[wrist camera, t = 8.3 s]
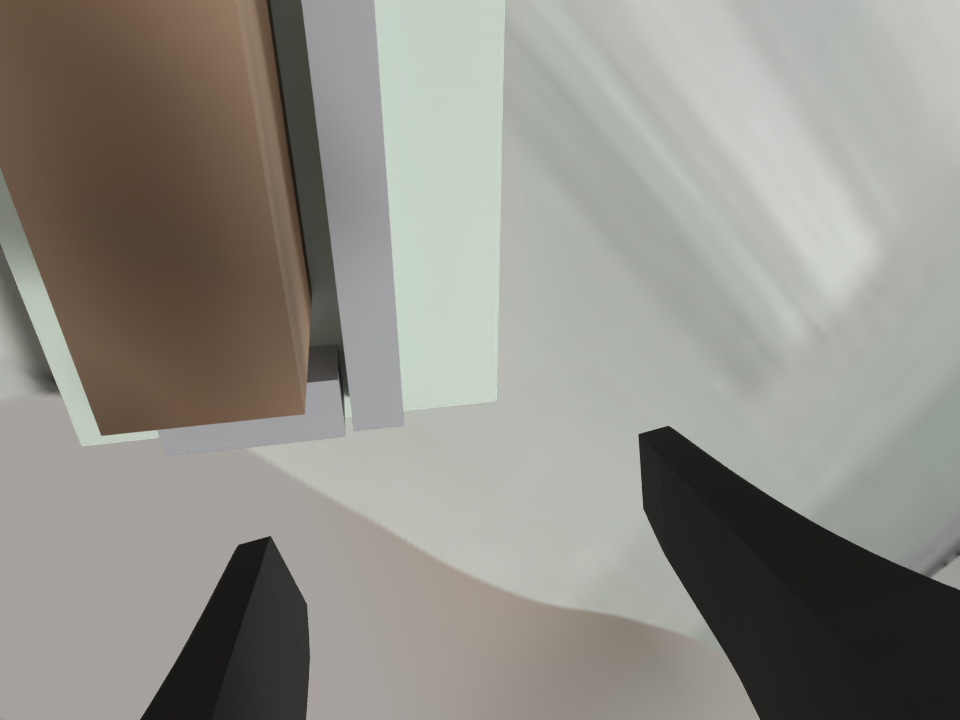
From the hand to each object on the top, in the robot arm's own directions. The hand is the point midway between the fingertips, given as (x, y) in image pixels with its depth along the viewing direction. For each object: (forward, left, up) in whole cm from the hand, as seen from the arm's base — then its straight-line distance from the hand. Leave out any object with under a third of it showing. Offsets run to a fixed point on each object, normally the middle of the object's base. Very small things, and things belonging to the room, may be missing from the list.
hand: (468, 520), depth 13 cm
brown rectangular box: (+5, -6, -9) cm, 11 cm away
